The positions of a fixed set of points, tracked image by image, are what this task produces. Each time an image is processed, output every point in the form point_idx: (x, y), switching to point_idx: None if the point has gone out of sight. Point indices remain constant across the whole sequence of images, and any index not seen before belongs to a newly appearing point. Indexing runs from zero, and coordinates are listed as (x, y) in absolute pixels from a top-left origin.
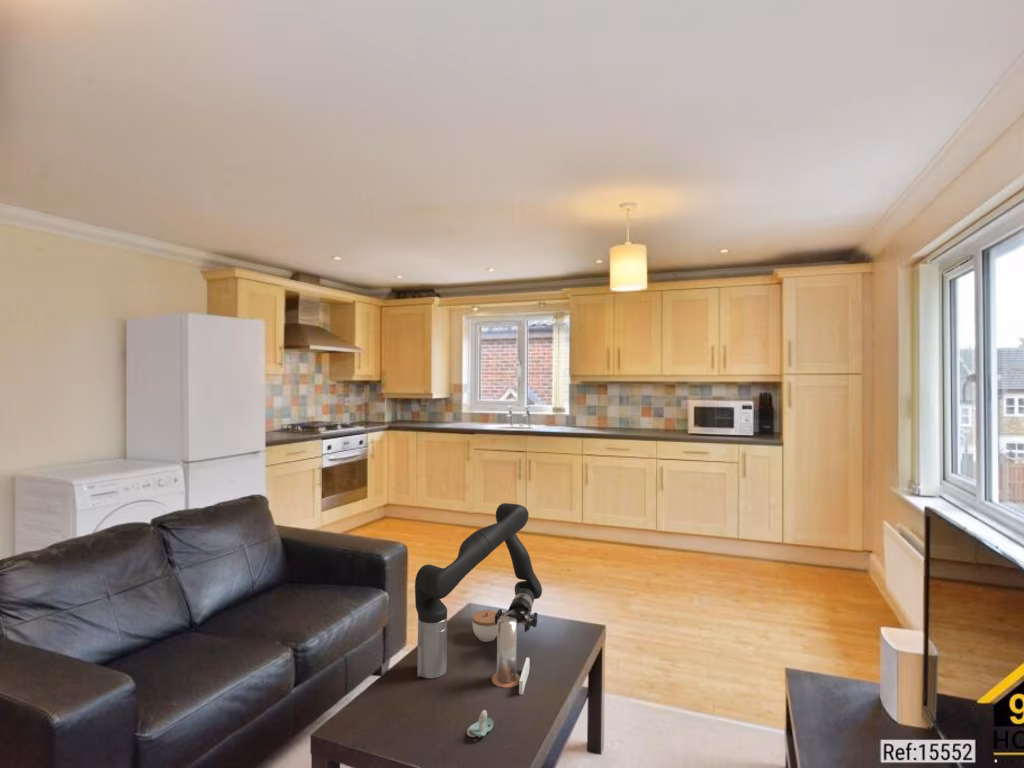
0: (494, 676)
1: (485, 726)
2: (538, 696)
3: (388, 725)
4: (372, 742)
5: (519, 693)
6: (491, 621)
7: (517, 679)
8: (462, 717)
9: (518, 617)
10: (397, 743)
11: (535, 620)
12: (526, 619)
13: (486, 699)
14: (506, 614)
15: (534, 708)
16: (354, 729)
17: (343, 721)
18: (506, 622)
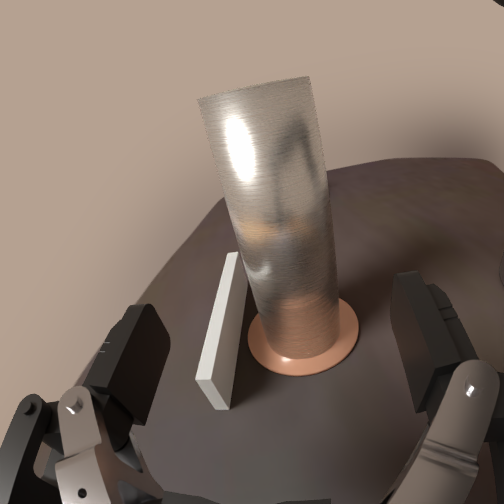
0: (350, 325)
1: None
2: (194, 292)
3: (444, 175)
4: (432, 162)
5: (246, 282)
6: None
7: (259, 335)
8: (353, 206)
9: (201, 497)
10: (405, 166)
11: (31, 398)
12: (98, 417)
13: None
14: (433, 452)
15: (208, 259)
16: (470, 166)
17: (493, 170)
18: (253, 85)
